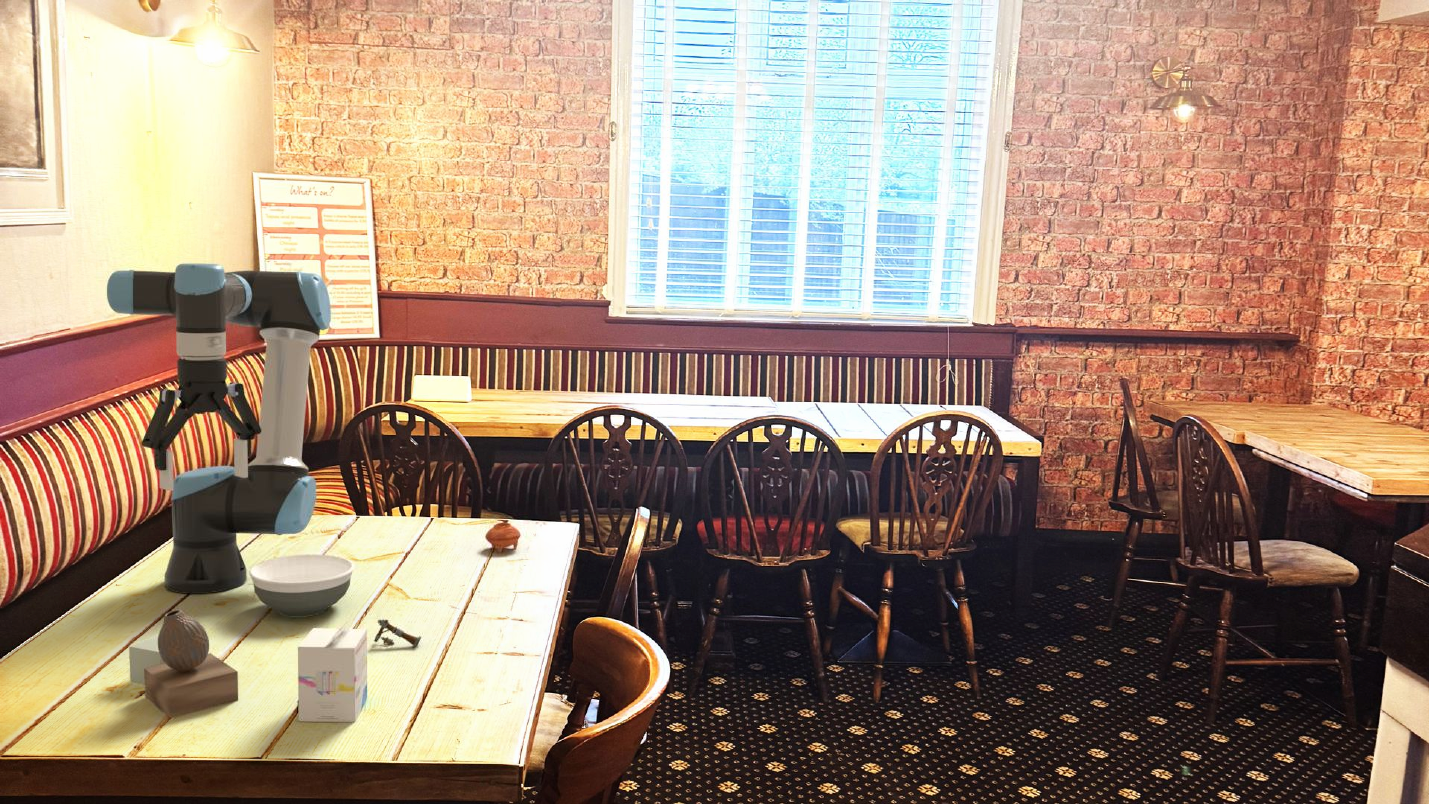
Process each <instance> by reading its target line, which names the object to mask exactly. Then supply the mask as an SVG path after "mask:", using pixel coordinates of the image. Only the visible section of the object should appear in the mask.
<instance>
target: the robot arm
mask: <svg viewBox="0 0 1429 804" xmlns="http://www.w3.org/2000/svg"><path fill="white" fill-rule="evenodd" d="M329 294H330V293H329V290H328V288H327V285H326V283H325V281H324V279H323V277H321V276H320V275H319V274H317V273H309V272H302V271H299V270H297V271H267V270H266V271H264V270H236V271H228V272H227V271H225V268H224V267H223V266H222V265H220V264H218V263H196V262H195V263H192V262H191V263H189V262H188V263H186V262H185V263H179V264H178V265H176V267H175V270H174V272H172V271H171V272H170V271H153V270H152V271H151V270H134V269H130V270H116V271H114V272H112V273H111V275H110V276H109V278H108V280H107V284H106V298H107V302H108V305H109V307H110V309H112V311H114V312H115V313H117V314H122V315H123V314H125V315H131V316H134V315H137V316H138V315H142V316H143V315H144V316H145V315H146V316H154V315H155V316H175V320H176V321H175V322H176V330H175V331H176V355H177V356H179V358H178V360H177V361H176V364H177V365H176V367H177V372H176V373H177V375H176V376H177V381H178V388H177V389H169V388H161V389H160V390H159V396H158V397H159V398H158V404H157V406H156V408H155V411H154V413H153V415H152V417H151V420H150V422H149V424H148V426H147V429H146V431H145V434H144V436H143V438H142V439H141V440H142V441H141V446H142V447H144V448H148V449H151V450H153V453H154V454H153V455H154V468H155V470H158V472H159V489H163V490H166V491H171V497H170V501H171V516H172V518H171V520H172V522H171V523H172V540H173V541H172V543H173V544H172V546H173V547H172V550H171V554H170V557H169V560H168V563H167V568H166V570H165V572H164V587H165V589H167V590H169V591H171V592H175V593H182V594H208V593H217V592H221V591H222V592H223V591H226V590H231V589H234V588H237V587H239V586H241V585H243V584H245V583H246V581H247V579H248V578H247V577H248V576H247V575H248V574H247V566H246V564H245V562H244V560H243V556H242V553H241V551H240V548H239V546H238V543H237V539H238V538H237V534H250V535H252V534H253V535H277V536H282V535H296V534H299V533H302V532H303V531H304V530H305V529H306V528H307V526H308V525H309V523H310V521H311V520H312V516H313V513H314V512H315V511H314V510H315V506H316V502H317V482H316V480H315V478H314V477H313V476H311V475H309V467H308V466H307V465H306V464H305V463H304V462H303V459H302V456H303V455H302V454H303V444H304V434H305V433H304V431H305V421H306V419H305V418H306V409H307V396H308V387H309V386H308V384H309V372H310V358H311V347H312V346H313V345H315V343H316V342H318V341H319V340H320V333H321V331H324V330H327V329H328V328H330V323H331V321H332V320H331V319H332V318H331V315H332V311H331V310H332V308H331V301H330V296H329ZM226 324H231V325H235V326H242V327H252V328H259V335H260V336H261V337H262V338H263V339H264V341H265V343H266V348H265V358H264V367H263V369H264V370H263V378H262V379H263V381H262V391H261V403H260V412H259V414H260V415H259V422H258V420H257V418H256V416H255V413H254V411H253V409H252V408H251V405H250V404H249V401H248V399H247V397H246V396H245V395H246V393H245V387H244V384H243V383H241V382H234V381H231V382H230V383H228V384H227V383H226V380H227V378H228V366H227V365H228V361H227V359H226V358H225V357H223V356H225V355H226V354H227V335H226V334H227V333H226V332H227V325H226ZM227 395H228V396H229V397H230V399H231V402H232V403H233V405H234V408H235V410H236V411H237V413H238V415H239V417H238V416H237V415H236V414H235V412H234V411H233V410H232V409H231V406H230V405H229V404H228V402H227V401H225V399H226V397H227ZM178 399H179V401H180V403H179V404H177V405H178V406H177V407H176V409H175V410H174V413H173V415H172V416H171V414H172V411H173V409H174V406H175V403H176V402H178ZM206 413H212V414H213V413H217V414H218V415H219V416H220V417H221V418H222V420H223V421H224V422H225V423H226V424H227V425H228V427H230V428H231V430H232V431H233V432H234V433H235V434H236V435H237V437H239V438H237V437H236V438H233V456H234V457H233V459H234V462H233V463H234V466H231V465H230V466H229V465H217V466H209V467H202V468H201V467H200V468H197V469H192V470H188V471H184V472H181V473H180V474H178V475H176V476H175V477H174V457H173V456H174V455H173V454H174V452H173V450H171V449H169V448H170V446H171V445H172V443H173V442H174V440H175V439H176V438H177V436H178V435H179V433H181V431H182V429H183V428H184V426H185V425H186V424H187V422H188V421H189V419H191V418H193V416H194V415H195V414H196V415H203V414H206ZM170 416H171V418H170ZM257 435H258V436H257ZM256 436H257V444H256V445H257V446H256V455H255V456H256V457H255V458H254V459H253V460H252V461H250V462H249V461H248V458H249V457H251V456H252V440H254V439H256Z"/></svg>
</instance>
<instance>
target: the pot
mask: <svg viewBox="0 0 1429 804" xmlns="http://www.w3.org/2000/svg"><path fill="white" fill-rule="evenodd" d="M521 536H522V535H521V532H520V530H519V529H517V528H516V527H515V526H513V525H512V524H511V523H509V522H506V521H505V522H504V521H503V522H497V523H494V525H493V527H491V528H490V529H489V530H488V531H487V532H486V534H485V540H486V541H487V542H488V543H489V544H490V545H491V547H493V548H494V549H495V548H497V551H498V553H499V554H501V553H502V550H503V548H509V547H510V546H513V549H515V550H516V549H517V547H518V546H519V545H518V544H519V539H520V538H521Z"/></svg>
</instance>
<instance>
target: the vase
mask: <svg viewBox="0 0 1429 804" xmlns="http://www.w3.org/2000/svg"><path fill="white" fill-rule="evenodd" d="M158 634H159V635H158ZM158 634H157V635H158V650H159V653H160V656H161V658H162V659H163V661H164V662H165V663H166V664H167V665H168V666H169V667H170V668H172V669H174V670H177V671H186V670H190V669H193V668H195V667H197V666H199V665H200V664H202V663H203V662H204V661H205V659H206V657H207V655H208V654H209V651H210V640H209V636H208V633H207V631H206V629H205V627H204V626H203V625H202V624H201V623H200V622H199V621H197V619H194V618H193V617H191V616H189V615H187V614H185V613H184V612H183V611H182V610H180V609H173V610H171V611H169V612H166V613H165V614H164V615H163V621H162V625H161V627H160V630H159V632H158Z"/></svg>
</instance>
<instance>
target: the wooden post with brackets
mask: <svg viewBox="0 0 1429 804" xmlns="http://www.w3.org/2000/svg"><path fill="white" fill-rule="evenodd" d="M377 623H378V625H379V626H380V628H379V630H378V632H377V633H376V635H375V637H374V640H373V642H375V643H378V641H379V639H381V641H383V643H382V644H383V645H384V644H386V645H387V646H390V645H391V646H394V645H395V642H394V639H391V638H389V636H387V637H385V636H382V635H383V634H384V633H387V632H391V634H394V636H397V637H399V638H402V639H403V640H405V641H406V642H408V643H409V644H411V645H412V648H413V649H415V648H416V646H417V645H419V643H420V641H421V639H422V636H421V635H419V636H414V635H411V634H408V633H406V632H405V630H402V629H400V628H399V627H397V626H393V624H390V622H389V620H388V619H378V620H377Z"/></svg>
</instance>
